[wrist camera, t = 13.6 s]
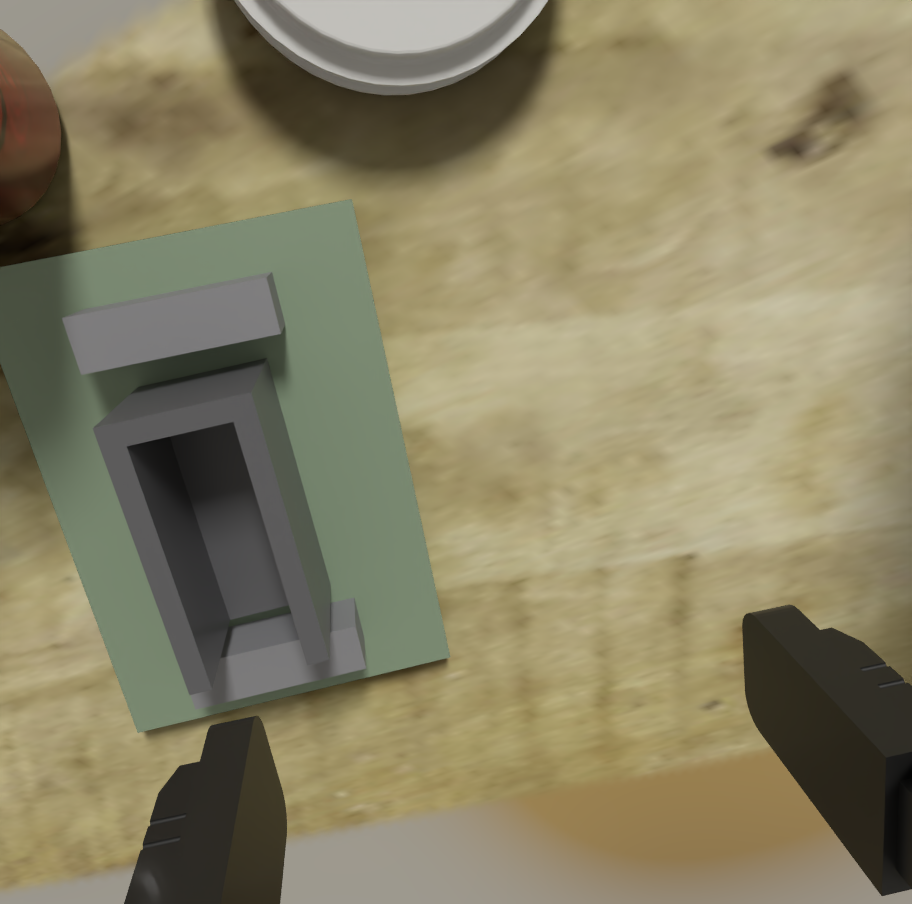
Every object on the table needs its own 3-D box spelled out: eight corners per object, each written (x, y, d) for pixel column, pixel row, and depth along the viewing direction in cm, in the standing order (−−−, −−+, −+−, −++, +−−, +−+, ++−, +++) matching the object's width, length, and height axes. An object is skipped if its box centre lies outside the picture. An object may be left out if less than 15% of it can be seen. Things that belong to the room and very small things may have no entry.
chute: (137, 387, 31) (92, 428, 25) (267, 358, 31) (251, 392, 25) (214, 612, 34) (189, 695, 28) (330, 584, 34) (329, 660, 28)
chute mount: (-20, 271, 30) (-67, 279, 26) (351, 199, 31) (353, 198, 27) (144, 716, 36) (123, 771, 32) (446, 643, 37) (458, 689, 34)
